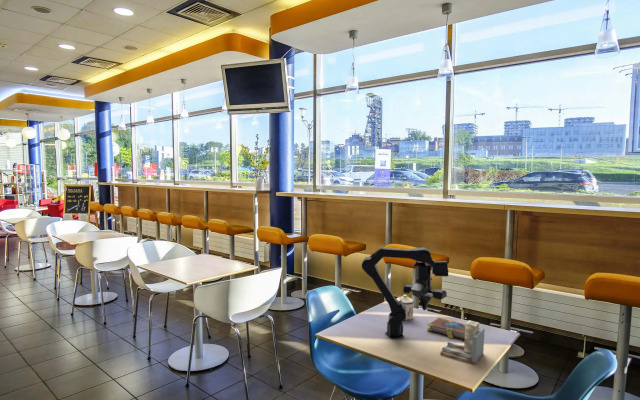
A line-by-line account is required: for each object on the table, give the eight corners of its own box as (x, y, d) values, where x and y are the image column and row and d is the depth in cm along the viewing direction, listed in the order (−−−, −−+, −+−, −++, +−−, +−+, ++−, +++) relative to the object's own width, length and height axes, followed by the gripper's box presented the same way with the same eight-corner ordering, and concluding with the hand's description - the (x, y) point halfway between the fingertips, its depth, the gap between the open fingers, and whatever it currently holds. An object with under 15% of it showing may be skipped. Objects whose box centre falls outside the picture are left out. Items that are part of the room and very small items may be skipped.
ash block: (463, 354, 161) (465, 323, 160) (467, 350, 165) (468, 320, 164) (474, 357, 159) (475, 326, 158) (477, 353, 163) (478, 322, 162)
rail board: (440, 354, 164) (440, 349, 163) (449, 344, 173) (449, 339, 173) (475, 364, 155) (475, 359, 155) (483, 353, 165) (483, 348, 165)
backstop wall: (471, 361, 156) (472, 336, 156) (479, 350, 166) (480, 327, 165) (475, 362, 155) (476, 337, 155) (483, 351, 165) (484, 328, 164)
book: (430, 322, 203) (430, 312, 202) (480, 335, 188) (481, 324, 187) (417, 330, 190) (417, 319, 190) (469, 344, 175) (470, 333, 174)
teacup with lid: (410, 321, 200) (411, 298, 199) (393, 318, 204) (393, 296, 203) (416, 314, 210) (417, 292, 210) (399, 311, 215) (400, 290, 214)
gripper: (396, 276, 178) (397, 310, 179) (436, 283, 166) (436, 319, 167) (408, 271, 186) (409, 304, 187) (447, 277, 174) (447, 312, 175)
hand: (424, 310), depth 179 cm, fingers closed
